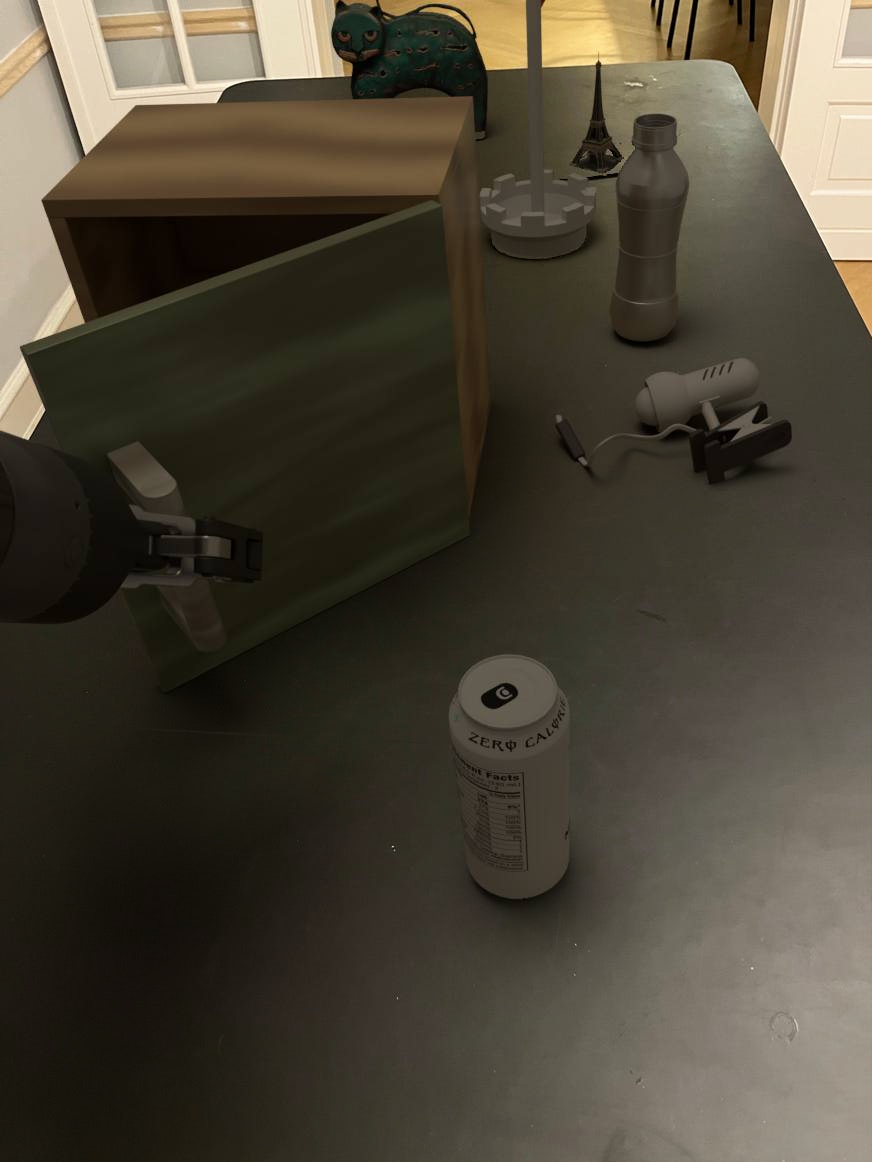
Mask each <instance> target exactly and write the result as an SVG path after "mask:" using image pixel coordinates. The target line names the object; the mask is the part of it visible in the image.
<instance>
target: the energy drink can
mask: <svg viewBox="0 0 872 1162" xmlns="http://www.w3.org/2000/svg"><path fill="white" fill-rule="evenodd" d="M457 690H458V691H457V692H456V694H455V695H454V696H453V698H452V701H451V702H450V706H449V708H448V724H449V732H450V733H449V734H450V740H451V741H450V742H451V747H452V748H451V749H452V755H453V756H452V758H453V764H454V766H453V767H454V772H455V773H454V774H455V780H456V788H457V789H456V790H457V797H458V804H459V805H458V806H459V813H460V821H461V828H462V829H461V830H462V836H463V837H462V839H463V845H464V846H463V847H464V852H465V859H466V860H465V861H466V866H467V869H468V871H469V873H470V875H471V877H472V878H473V879H474V881H475V882H476V883H477V884H478V885H479V886H480V887H481V888H483V889H485V890H486V891H487V892H488V893H490V894H493V895H495V896H498V897H500V898H501V897H502V898H505V899H510V900H523V898H525V899H530V898H533V897H536V896H539V895H542V894H543V893H546V892H547V891H549V890H551V889H552V888H553V887H554V886H555V885H557V884H558V883H559V882H560V880H561V879H562V878H563V876H564V875H565V873H566V871H567V869H568V866H569V862H570V857H571V856H570V854H571V853H570V852H571V851H570V849H571V847H570V845H571V844H570V843H571V842H570V839H571V838H570V836H571V835H570V833H571V829H570V828H571V827H570V825H571V823H570V821H571V820H570V819H571V815H570V814H571V813H570V812H571V811H570V809H571V804H570V802H571V795H570V792H571V791H570V789H571V786H570V785H571V784H570V783H571V779H570V778H571V769H570V768H571V764H570V763H571V761H570V760H571V753H570V752H571V750H570V749H571V745H570V744H571V730H570V728H571V720H570V719H571V709H570V704H569V701H568V699H567V696H565V693H564V692H563V690H562V689H561V687H559V686H558V685H557V680H556V678H555V677H554V675H553V673H552V672H551V671H550V669H549V668H548V667H547V666H545V665H544V664H543V663H541V662H540V661H538V660H536V659H534V658H531V657H528V656H525V655H520V654H499V655H494V656H490V657H487V658H485V659H483V660H480V661H478V662H477V663H475V664H474V665H472V666H471V667H470V668H469V669H468V670H467V671H466V672H465V673H464V674H463V676H462V678H461V680H460V681H459V684H458V688H457ZM529 897H530V898H529Z"/></svg>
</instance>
